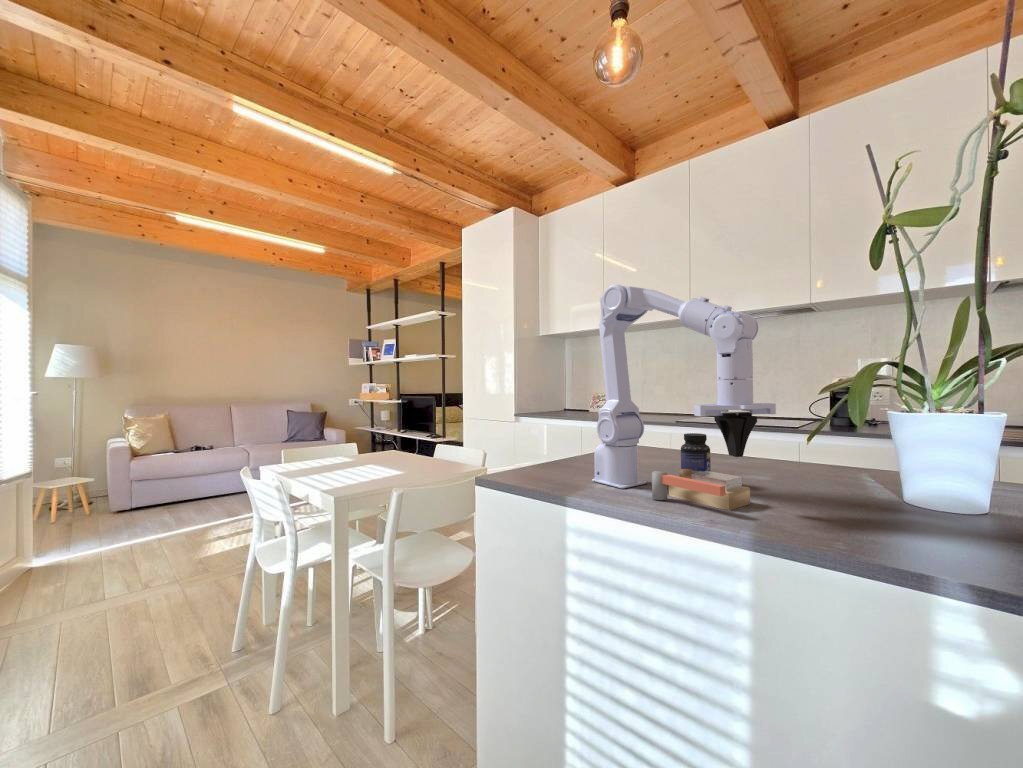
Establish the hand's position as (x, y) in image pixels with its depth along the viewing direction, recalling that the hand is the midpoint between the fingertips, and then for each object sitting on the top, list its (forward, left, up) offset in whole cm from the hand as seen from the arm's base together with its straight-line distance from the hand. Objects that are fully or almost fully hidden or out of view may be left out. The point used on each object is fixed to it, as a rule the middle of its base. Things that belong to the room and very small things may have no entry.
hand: (735, 456), depth 78 cm
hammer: (-7, -5, -9) cm, 13 cm away
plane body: (-7, +2, -10) cm, 12 cm away
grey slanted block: (-5, +2, -7) cm, 9 cm away
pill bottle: (-16, +12, -10) cm, 22 cm away
